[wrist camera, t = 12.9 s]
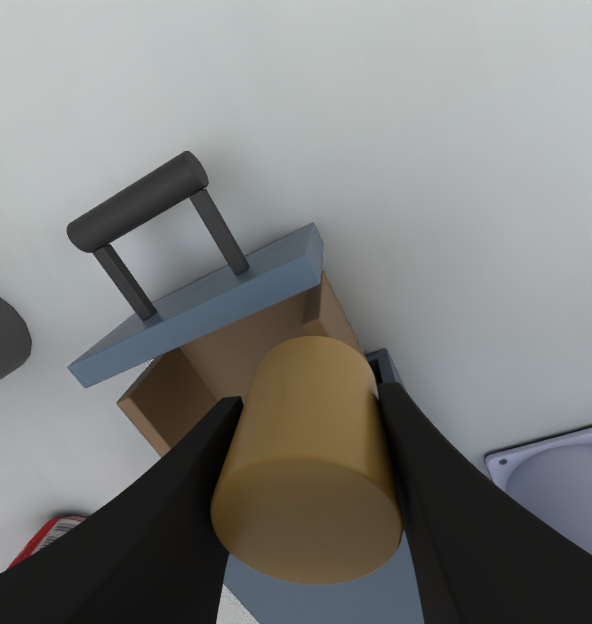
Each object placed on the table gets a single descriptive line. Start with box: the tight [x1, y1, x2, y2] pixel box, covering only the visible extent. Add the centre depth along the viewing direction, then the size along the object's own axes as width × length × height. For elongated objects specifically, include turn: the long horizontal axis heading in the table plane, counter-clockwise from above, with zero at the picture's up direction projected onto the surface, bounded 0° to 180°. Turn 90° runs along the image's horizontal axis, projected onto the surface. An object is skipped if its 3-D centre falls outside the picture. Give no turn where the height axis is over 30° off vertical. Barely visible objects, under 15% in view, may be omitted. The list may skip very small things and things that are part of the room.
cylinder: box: [210, 336, 404, 585], centre depth 10 cm, size 4×4×5 cm
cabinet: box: [223, 349, 424, 624], centre depth 21 cm, size 13×12×8 cm
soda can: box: [7, 516, 86, 569], centre depth 26 cm, size 7×7×12 cm
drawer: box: [67, 151, 378, 458], centre depth 17 cm, size 17×11×6 cm, turn 27°
